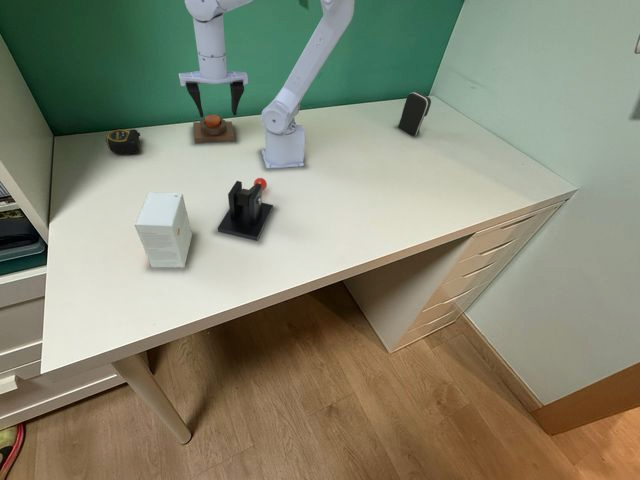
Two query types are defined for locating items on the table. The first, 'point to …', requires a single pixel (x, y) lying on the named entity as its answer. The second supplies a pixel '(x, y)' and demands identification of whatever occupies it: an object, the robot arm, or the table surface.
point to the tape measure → (123, 141)
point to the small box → (164, 229)
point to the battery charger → (414, 112)
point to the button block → (213, 132)
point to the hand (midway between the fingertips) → (218, 114)
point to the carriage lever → (250, 192)
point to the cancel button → (212, 120)
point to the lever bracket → (245, 215)
